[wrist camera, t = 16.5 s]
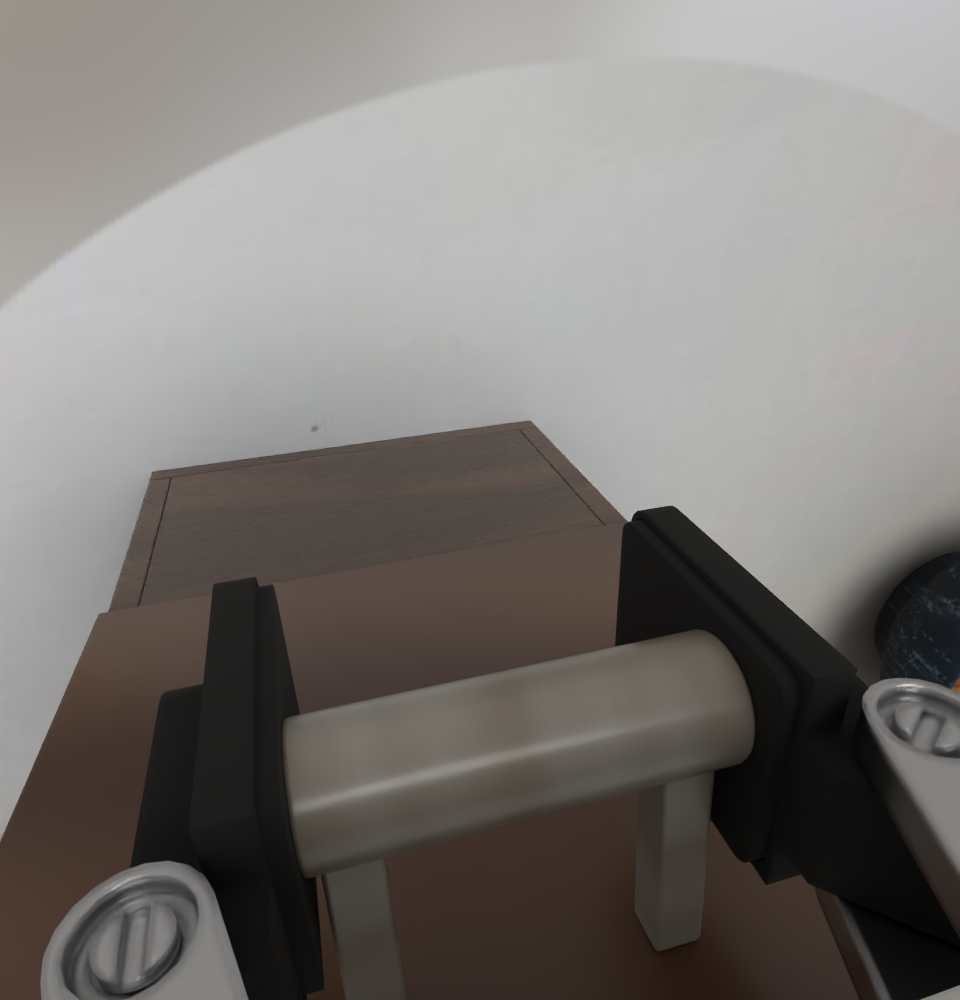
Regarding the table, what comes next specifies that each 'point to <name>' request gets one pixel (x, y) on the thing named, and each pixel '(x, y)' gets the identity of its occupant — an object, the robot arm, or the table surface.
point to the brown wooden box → (351, 510)
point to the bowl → (923, 626)
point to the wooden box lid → (454, 788)
